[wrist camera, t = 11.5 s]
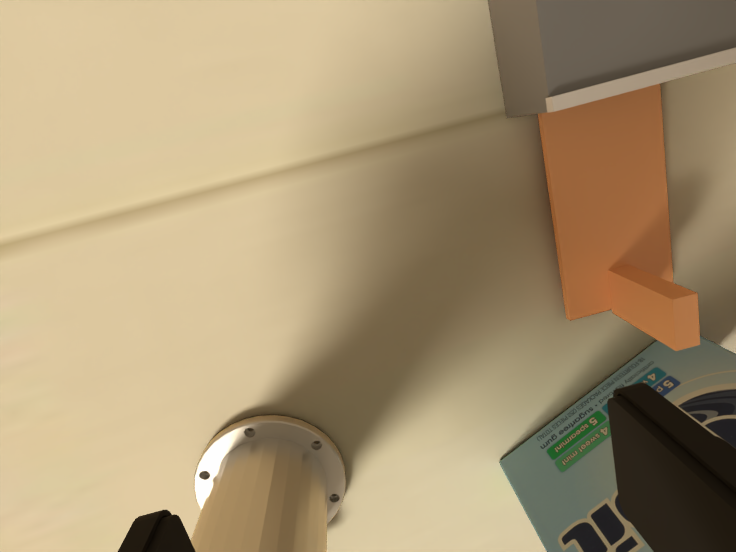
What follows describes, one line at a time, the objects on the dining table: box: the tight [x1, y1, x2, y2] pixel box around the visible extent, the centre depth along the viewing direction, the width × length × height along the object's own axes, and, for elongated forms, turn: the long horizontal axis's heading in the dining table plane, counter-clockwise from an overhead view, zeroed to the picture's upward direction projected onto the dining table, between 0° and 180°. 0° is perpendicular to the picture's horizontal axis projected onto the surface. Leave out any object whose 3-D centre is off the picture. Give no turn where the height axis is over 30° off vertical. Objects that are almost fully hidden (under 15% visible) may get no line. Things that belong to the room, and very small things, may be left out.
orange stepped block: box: [538, 84, 700, 351], centre depth 31 cm, size 16×8×8 cm, turn 14°
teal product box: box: [499, 336, 736, 552], centre depth 30 cm, size 20×5×23 cm, turn 131°
